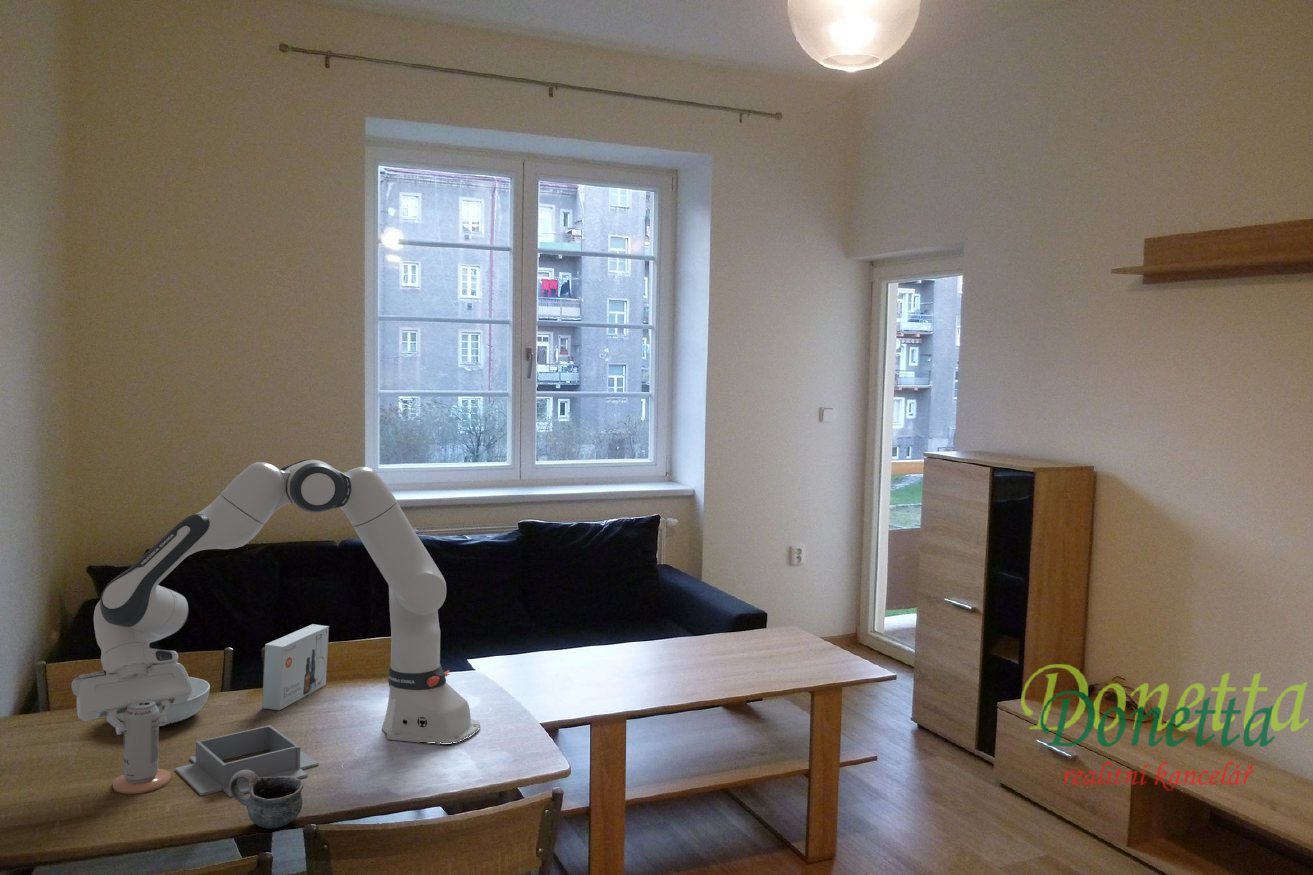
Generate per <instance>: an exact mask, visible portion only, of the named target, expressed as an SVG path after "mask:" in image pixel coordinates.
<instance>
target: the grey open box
mask: <svg viewBox="0 0 1313 875" xmlns="http://www.w3.org/2000/svg"><path fill="white" fill-rule="evenodd" d="M266 750H268V751H269V752H266V753H262V754H258V755H253V756H250V757H246V758H241V759H238V760H232V761H229V762H224V761H225V760H229V759H233V758H237V757H241V756H245V755H250V754H254V753H259V752H262V751H266ZM188 759H189V760H190V761H191V762H192V763H191V764H186V765H182V766H177V767H175V768H174V771H175V772H176V773H177V774H178V775H179V776H180V777H181V778H182V779H184V781H185V782H186V783H188V785H189V786H190V787H191V788H192V789H193V790H194V791H196V792H197V793H198V794H199V795H200V796H205V795H209V794H214V793H217V792H220V791H222V792H224V793H225V794H226V795H227V796H228V797H229V798H232V797H233V796H232V794H231V792H230V789H229V784H230V780H231V778H232V777H233V776H234V775H235V774H236V773H237V772H239V771H241V770H251V771H253V772H255V773H256V775H257V776H258V777H273V778H275V777H279V776H289V777H294V778H297V779H300V780H302V779H304V778H307V777H308V775H309V774H308V773H307V772H306V771H305V769H309V768H313V767H317V766H318V767H319V762H318V761H316V760H315V759H313V758H312V757H311V756H309V755H308V754H307V753H305V752H304V751H302V749H301V746H300V745H298V743H296V742H294V741H293V740H292V739H290V738H289V737H287V736H286V735H285V734H283V733H282V732H280V731H279V730H278V729H276V728H275V727H274V726H273V725H271V724H267V725H264V726H261V727H256V728H253V729H248V730H247V729H246V730H242V731H238V732H233V733H229V734H225V735H219V736H216V737H210V738H205V739H202V740H195V755H191V756H189V758H188ZM237 786H238V788H239V790H240V791H241V792H242V793H243V794H244V795H245V794H247V793H250V788H249V783H248V780H247V779H245V778H239V779H237ZM233 798H234V797H233Z"/></svg>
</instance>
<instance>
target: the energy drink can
mask: <svg viewBox="0 0 1313 875" xmlns="http://www.w3.org/2000/svg"><path fill="white" fill-rule="evenodd" d="M155 703H156V702H155V701H154V700H150V699H147V700H144V701H138V702H133V703H131V702H130V703H129V704H128V708H127V709H126V711H125V713H124V722H125V725H126V727H127V731H126V732H125V734H123V774H122V775H123V776H124V778H126V779H127V782H129V783H144V782H148V781H150V780H152V779H153V778H154V777H155V775H156V774H157V773H158V769H159V748H160V747H159V746H160V744H159V741H160V740H159V737H160V736H159V735H160V734H159V733H160V726H159V709H158V707H157V706H156V704H155Z"/></svg>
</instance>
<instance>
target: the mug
mask: <svg viewBox="0 0 1313 875" xmlns="http://www.w3.org/2000/svg"><path fill="white" fill-rule="evenodd" d="M239 778H245V779H247V780H248V783H249V788H250V792H249V796H248V795H245V793H244V794H243V793H242V792H241V791H240V790H239V788H238V786H237V779H239ZM304 786H305V784H304V781H303V780H302V779H297V778H294V777H289V776H279V777H275V778H273V777H258V776H257V775H256V773H255V772H253V771H251V770H241V771H239V772H237V773H236V774H235V775H234V776H233V777H232V778H231V780H230V784H229V789H230V792H231V794H232V796H233V798H234V799H235V800H236V801H237V802H239V803H240V804H241V805H243V806H245V807H246V809H247V815H248V817H249V820H250V821H251V822H252V823H253V824H254V825H256V826H258V827H260V828H263V829H267V830H273V829H279V828H281V827H284V826H287V825H288V824H290V823H292V822H293V821H294V820H295V819H297V817H298V816H299V814H300V812H301V810H302V808H303V795H302V790H303V789H304Z"/></svg>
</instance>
